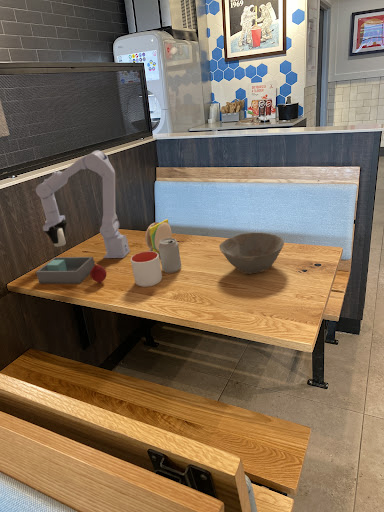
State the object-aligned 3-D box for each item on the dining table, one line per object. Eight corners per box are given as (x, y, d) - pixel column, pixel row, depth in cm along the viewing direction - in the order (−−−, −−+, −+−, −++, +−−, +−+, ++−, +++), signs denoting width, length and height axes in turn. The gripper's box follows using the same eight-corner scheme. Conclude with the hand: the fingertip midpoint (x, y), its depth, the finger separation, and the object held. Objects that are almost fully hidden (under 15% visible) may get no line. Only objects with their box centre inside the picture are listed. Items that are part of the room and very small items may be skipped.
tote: (95, 267, 161) (93, 256, 159) (79, 283, 149) (76, 271, 147) (57, 268, 165) (54, 257, 163) (39, 283, 153) (35, 271, 151)
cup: (141, 291, 138) (136, 265, 134) (131, 280, 146) (126, 256, 142) (166, 282, 141) (162, 257, 137) (156, 273, 150) (152, 248, 146)
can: (179, 273, 147) (174, 243, 142) (160, 273, 148) (155, 244, 144) (183, 265, 153) (179, 236, 149) (165, 265, 155) (160, 237, 150)
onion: (111, 279, 149) (106, 260, 146) (103, 286, 144) (98, 267, 141) (97, 278, 151) (93, 259, 148) (89, 285, 146) (84, 266, 143)
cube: (67, 270, 159) (64, 259, 157) (60, 276, 155) (57, 265, 153) (56, 270, 161) (53, 259, 159) (49, 276, 156) (46, 265, 154)
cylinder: (68, 242, 173) (64, 227, 170) (62, 246, 168) (58, 231, 166) (58, 242, 174) (54, 227, 171) (52, 246, 170) (47, 231, 167)
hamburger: (160, 243, 178) (156, 218, 173) (175, 245, 174) (172, 219, 169) (144, 253, 169) (139, 227, 164) (159, 256, 165) (154, 229, 160)
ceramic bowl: (296, 263, 143) (296, 237, 139) (261, 289, 129) (259, 262, 125) (246, 252, 158) (245, 228, 154) (209, 274, 143) (207, 249, 139)
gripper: (52, 206, 173) (59, 235, 178) (32, 216, 160) (41, 247, 165) (66, 205, 171) (73, 234, 176) (48, 216, 158) (56, 247, 163)
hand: (59, 240), depth 170 cm, fingers closed on cylinder, 5 cm apart
